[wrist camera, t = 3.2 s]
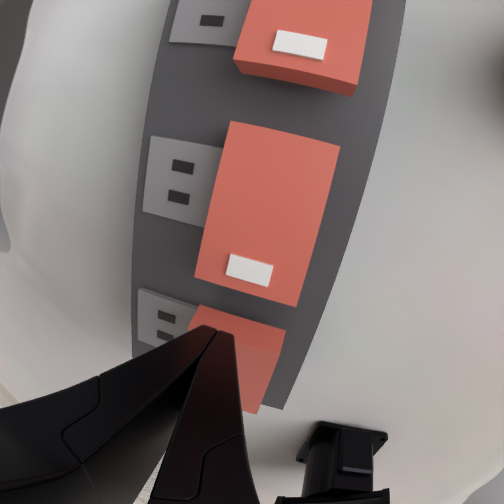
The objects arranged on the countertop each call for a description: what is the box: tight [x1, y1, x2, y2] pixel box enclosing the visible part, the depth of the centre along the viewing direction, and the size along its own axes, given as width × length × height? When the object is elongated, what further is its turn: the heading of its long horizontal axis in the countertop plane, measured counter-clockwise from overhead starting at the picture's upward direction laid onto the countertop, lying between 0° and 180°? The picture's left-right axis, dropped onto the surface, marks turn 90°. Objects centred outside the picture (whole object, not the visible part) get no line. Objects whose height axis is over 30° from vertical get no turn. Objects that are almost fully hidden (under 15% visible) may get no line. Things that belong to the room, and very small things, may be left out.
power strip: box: [131, 0, 406, 410], centre depth 13 cm, size 34×10×5 cm, turn 168°
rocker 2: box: [194, 121, 340, 307], centre depth 12 cm, size 6×4×2 cm, turn 168°
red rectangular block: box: [188, 305, 286, 414], centre depth 15 cm, size 6×4×2 cm, turn 169°
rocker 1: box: [233, 0, 373, 97], centre depth 9 cm, size 6×4×2 cm, turn 168°
